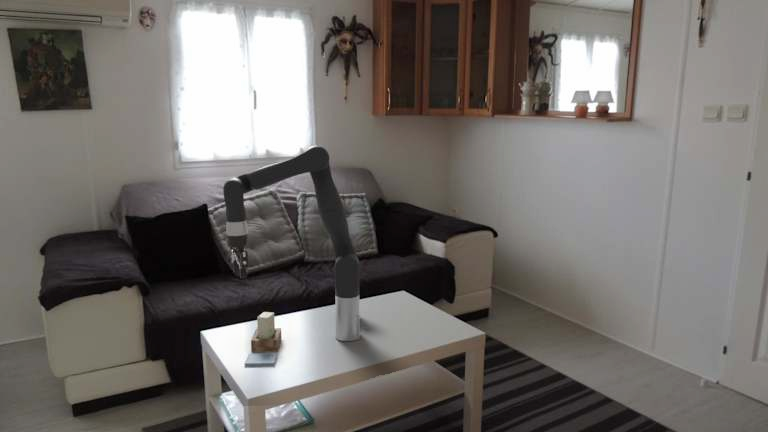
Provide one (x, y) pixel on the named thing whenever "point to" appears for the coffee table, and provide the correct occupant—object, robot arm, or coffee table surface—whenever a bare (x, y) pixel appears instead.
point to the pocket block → (266, 342)
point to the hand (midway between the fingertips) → (240, 275)
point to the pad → (261, 359)
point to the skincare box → (266, 325)
